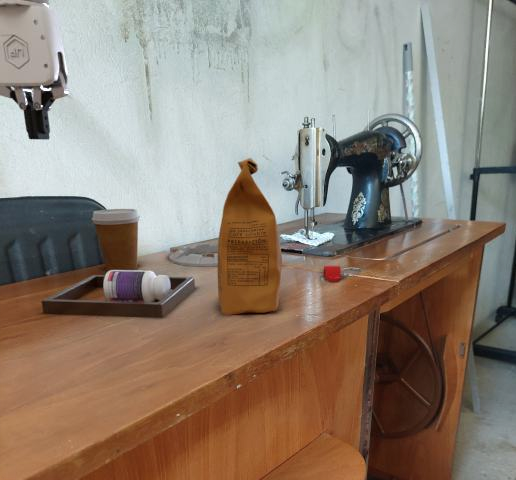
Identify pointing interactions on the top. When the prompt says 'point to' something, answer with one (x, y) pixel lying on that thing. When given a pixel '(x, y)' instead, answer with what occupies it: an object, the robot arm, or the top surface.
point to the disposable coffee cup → (118, 237)
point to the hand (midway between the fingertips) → (39, 139)
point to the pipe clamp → (332, 273)
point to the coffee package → (248, 249)
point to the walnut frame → (69, 305)
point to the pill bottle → (135, 286)
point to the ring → (195, 256)
